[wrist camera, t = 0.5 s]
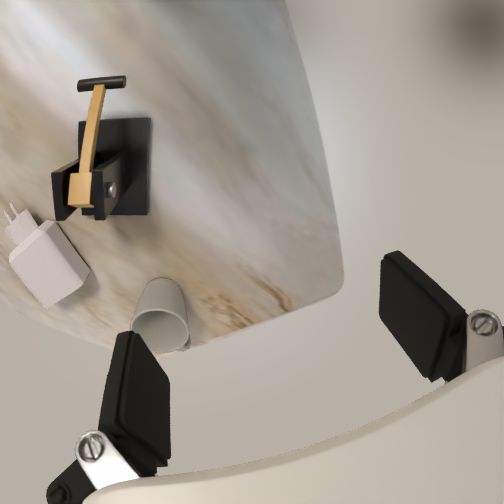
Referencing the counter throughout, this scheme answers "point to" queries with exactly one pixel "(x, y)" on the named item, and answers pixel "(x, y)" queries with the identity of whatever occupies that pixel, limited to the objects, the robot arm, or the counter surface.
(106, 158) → the bracket
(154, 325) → the cup
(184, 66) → the counter surface
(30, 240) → the charger
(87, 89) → the tap lever
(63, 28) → the counter surface
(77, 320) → the counter surface
